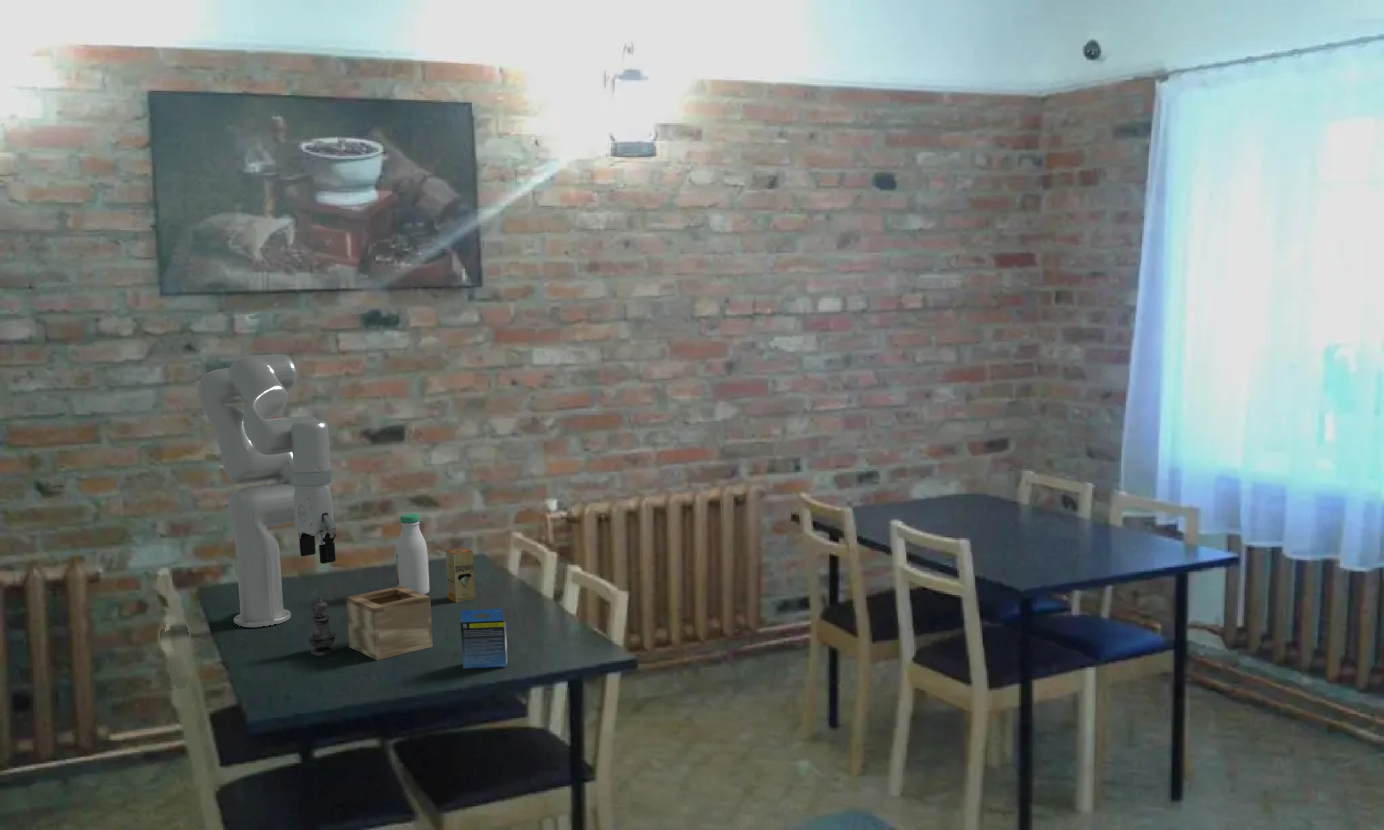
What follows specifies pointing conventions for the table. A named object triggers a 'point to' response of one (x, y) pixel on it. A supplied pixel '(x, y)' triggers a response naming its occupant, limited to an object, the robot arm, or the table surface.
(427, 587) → the milk bottle
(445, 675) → the table surface
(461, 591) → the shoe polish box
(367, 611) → the box
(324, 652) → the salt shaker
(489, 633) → the label tape cartridge
